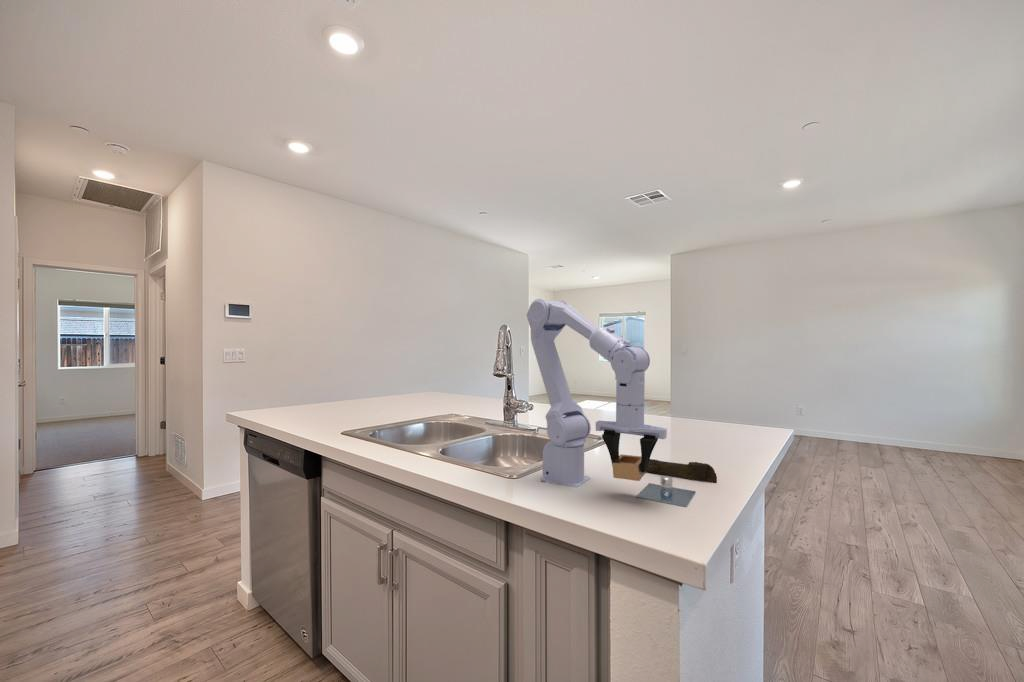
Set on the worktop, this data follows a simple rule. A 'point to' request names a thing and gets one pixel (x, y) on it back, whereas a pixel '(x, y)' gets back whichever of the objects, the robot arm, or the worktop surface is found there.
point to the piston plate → (672, 500)
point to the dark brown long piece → (684, 470)
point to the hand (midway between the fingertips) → (629, 468)
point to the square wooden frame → (628, 467)
